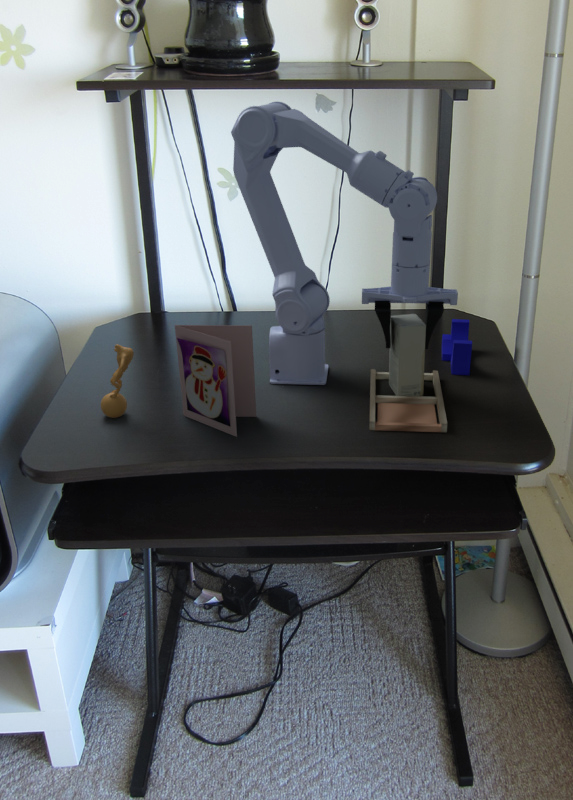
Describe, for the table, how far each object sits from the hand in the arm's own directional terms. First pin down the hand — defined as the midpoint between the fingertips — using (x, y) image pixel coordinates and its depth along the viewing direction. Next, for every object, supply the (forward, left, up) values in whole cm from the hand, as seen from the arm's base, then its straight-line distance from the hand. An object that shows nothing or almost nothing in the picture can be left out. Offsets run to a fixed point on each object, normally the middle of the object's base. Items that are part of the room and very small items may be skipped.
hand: (406, 346), depth 117 cm
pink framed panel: (0, -5, -8) cm, 9 cm away
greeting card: (-28, -12, -8) cm, 32 cm away
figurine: (-44, -12, -8) cm, 46 cm away
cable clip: (+9, +13, -8) cm, 18 cm away
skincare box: (0, 0, -8) cm, 8 cm away
